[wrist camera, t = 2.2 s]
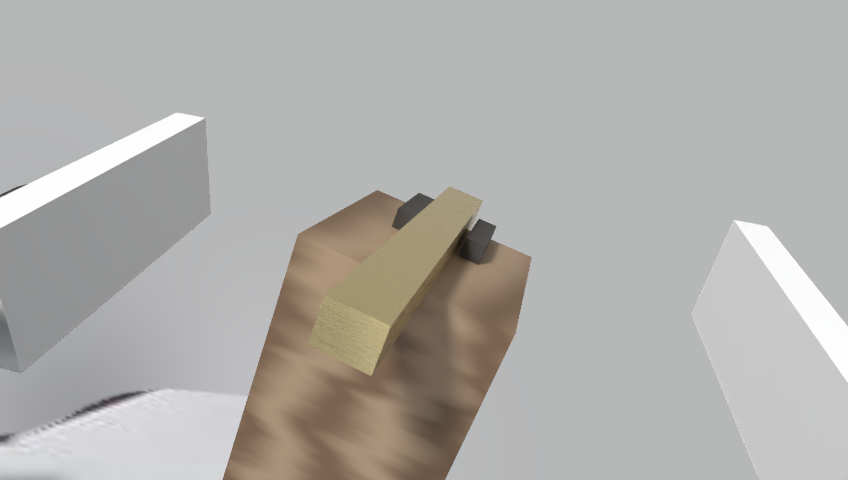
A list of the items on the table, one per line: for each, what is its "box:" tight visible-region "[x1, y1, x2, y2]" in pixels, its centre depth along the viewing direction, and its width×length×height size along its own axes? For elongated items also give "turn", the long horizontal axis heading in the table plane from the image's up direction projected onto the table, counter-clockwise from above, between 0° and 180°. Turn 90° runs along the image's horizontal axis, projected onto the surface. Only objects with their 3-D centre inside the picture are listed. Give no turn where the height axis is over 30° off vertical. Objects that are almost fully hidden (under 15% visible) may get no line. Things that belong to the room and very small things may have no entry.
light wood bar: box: [307, 187, 482, 376], centre depth 35 cm, size 3×26×2 cm, turn 166°
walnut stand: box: [223, 190, 531, 480], centre depth 46 cm, size 14×15×38 cm
